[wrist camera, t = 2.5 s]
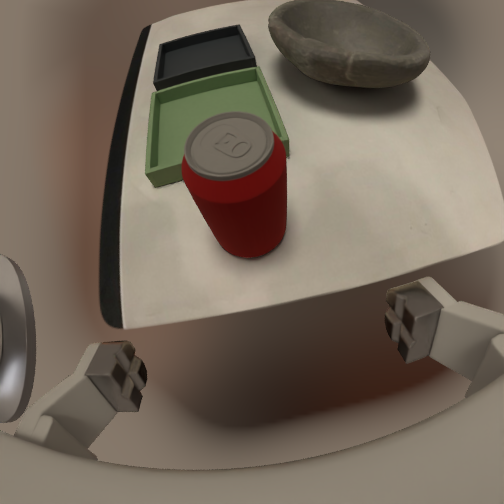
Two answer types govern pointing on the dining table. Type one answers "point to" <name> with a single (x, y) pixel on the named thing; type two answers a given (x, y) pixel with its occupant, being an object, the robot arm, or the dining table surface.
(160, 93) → the sage tray
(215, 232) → the beverage can
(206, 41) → the slate tray
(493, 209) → the dining table surface
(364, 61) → the bowl
